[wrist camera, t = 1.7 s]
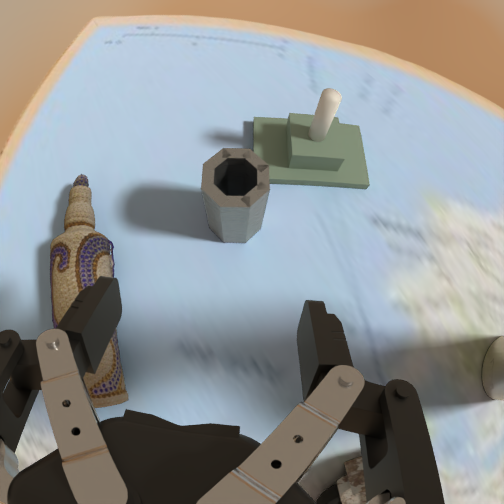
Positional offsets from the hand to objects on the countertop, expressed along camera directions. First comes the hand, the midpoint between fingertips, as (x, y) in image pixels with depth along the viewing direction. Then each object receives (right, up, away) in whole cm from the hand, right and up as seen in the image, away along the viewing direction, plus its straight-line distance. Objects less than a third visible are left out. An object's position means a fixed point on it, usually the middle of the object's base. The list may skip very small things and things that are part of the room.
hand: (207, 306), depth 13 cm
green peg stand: (+9, +14, +26) cm, 31 cm away
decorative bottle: (-15, -3, +20) cm, 25 cm away
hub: (0, +6, +23) cm, 24 cm away
